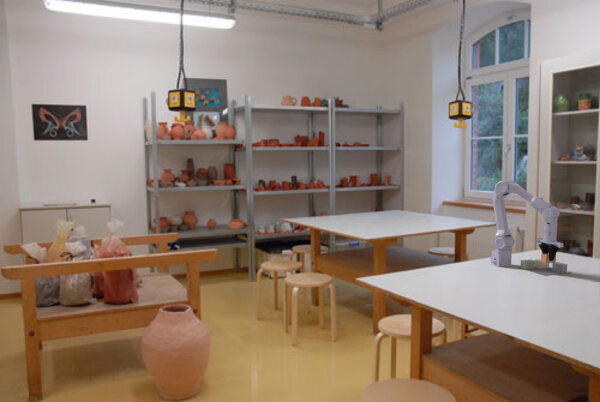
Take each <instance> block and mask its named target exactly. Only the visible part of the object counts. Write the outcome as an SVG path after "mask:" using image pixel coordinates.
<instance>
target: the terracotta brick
mask: <svg viewBox="0 0 600 402" xmlns="http://www.w3.org/2000/svg"><path fill="white" fill-rule="evenodd" d="M540 255H541V258H540V259H541V262H543V263H549V264H552V263H556V262H557V254H556V255H555V258H554V261H549V253H546V254H542V253H541V254H540Z"/></svg>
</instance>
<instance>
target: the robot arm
mask: <svg viewBox="0 0 600 402" xmlns="http://www.w3.org/2000/svg"><path fill="white" fill-rule="evenodd" d="M510 194H516V195H517V196H519V197H520V198H522V199H524V200H525V201H527V202H528V203H529V204H530V207H531V208H533V209H535V210H536V212H538V213H540V214H541V215H542V217H543V218H544V219H543V233H542V238H539V237H537V238H536V240H535V241H536V243H539V244H538V247H539V249H540V251H541V254H546V253H549V261H554V258H555V255H556V256H557V252H558V251H559V250H560V249H563V248H564V243H563V242H560V241H558V240H557V237H558V236H557V233H558V220H559V219H558V218H559V216H560V215H561V214H560V213H561V212H560V209H559V208H558V207H557V206H555V205H552V203H549V202H547V201H546V200H544V197H542V196H541V197H540V196H534V195H533V194H531V193H530V192H528V190H526V189H525V188H523V187H522V186H521V185H520V184H518V183H517V182H515V181H514V180H512V179H509V180H500V181H498V182H497V183H496V184H495V185H494V190H493V193H492V196H491V198H492V199H491V200H492V206H493V213H494V219H495V225H496V232H495V234H494V236H495V240H494V246H495V247H496V249H493V250H492V251H491V255H490V257H491V258H490V265H491V266H492V265H493V266H495V267H498V268H502V267H503V268H504V267H511V266H512V255H513V246H514V245H515V238H514V237H513V236H512V232H511V231H510V229H509V223H508V219H507V212H506V205H505V198H507V196H508V195H510Z"/></svg>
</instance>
